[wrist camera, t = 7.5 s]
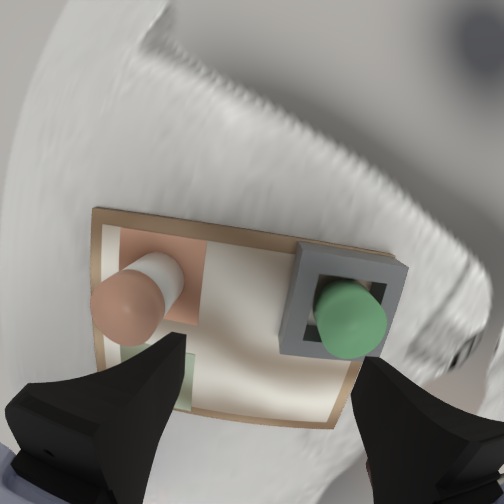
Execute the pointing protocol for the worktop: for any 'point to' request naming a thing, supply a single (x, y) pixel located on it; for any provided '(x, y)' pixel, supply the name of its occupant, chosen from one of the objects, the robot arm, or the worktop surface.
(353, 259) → the button housing
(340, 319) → the button
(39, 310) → the worktop surface
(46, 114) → the worktop surface
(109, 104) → the worktop surface
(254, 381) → the board
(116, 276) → the marker
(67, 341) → the worktop surface
